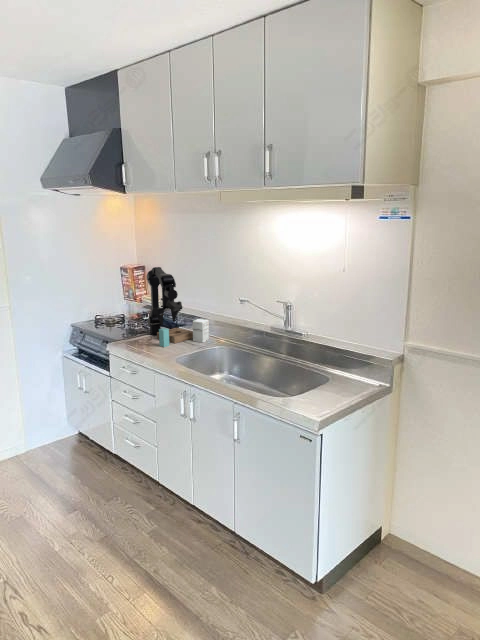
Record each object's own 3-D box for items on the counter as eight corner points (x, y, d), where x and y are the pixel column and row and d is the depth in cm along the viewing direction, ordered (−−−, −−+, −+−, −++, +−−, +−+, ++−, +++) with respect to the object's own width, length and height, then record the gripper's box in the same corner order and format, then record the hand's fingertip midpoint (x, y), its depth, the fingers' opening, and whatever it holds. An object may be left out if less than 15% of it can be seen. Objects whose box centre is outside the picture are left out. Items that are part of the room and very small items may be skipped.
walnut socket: (157, 338, 294) (157, 332, 294) (176, 333, 306) (176, 327, 305) (174, 343, 284) (174, 337, 283) (194, 338, 296) (194, 331, 295)
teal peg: (159, 345, 280) (158, 329, 277) (164, 344, 283) (164, 328, 280) (164, 347, 277) (163, 330, 275) (169, 345, 280) (168, 329, 278)
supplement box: (192, 341, 289) (192, 320, 286) (199, 338, 296) (198, 318, 293) (202, 342, 286) (202, 322, 283) (209, 339, 292) (209, 319, 289)
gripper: (164, 300, 262) (165, 328, 266) (188, 296, 276) (189, 322, 280) (151, 298, 269) (152, 325, 273) (175, 293, 283) (176, 319, 287)
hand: (168, 323), depth 278 cm, fingers open, 9 cm apart
